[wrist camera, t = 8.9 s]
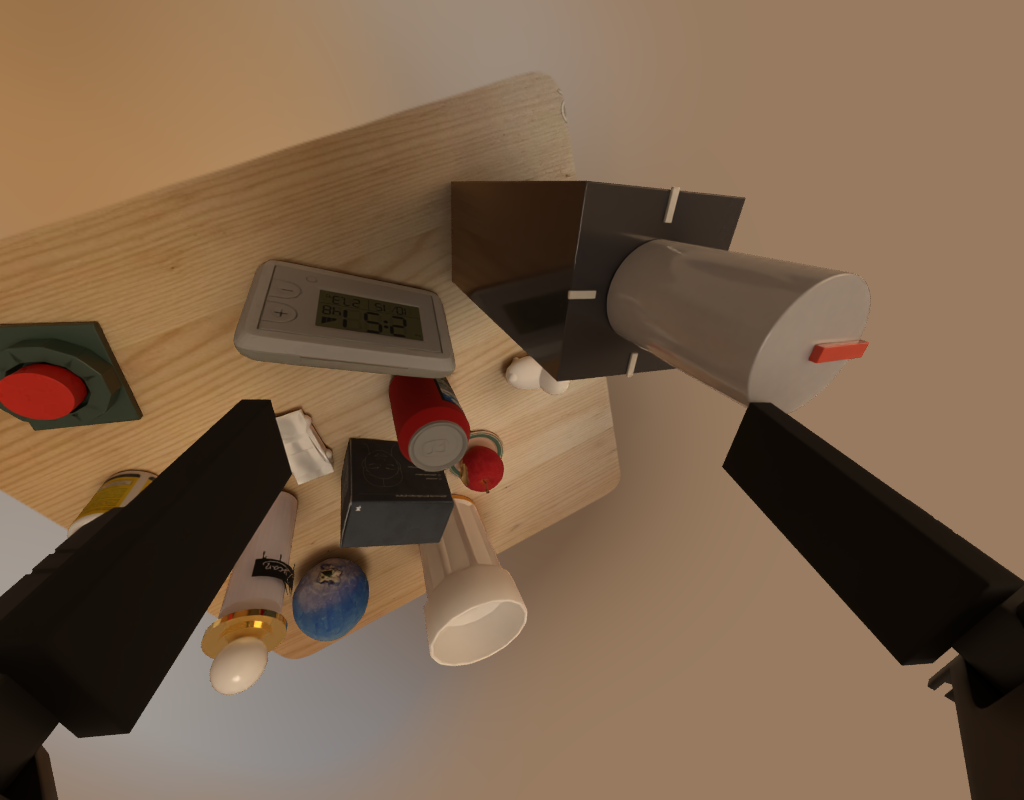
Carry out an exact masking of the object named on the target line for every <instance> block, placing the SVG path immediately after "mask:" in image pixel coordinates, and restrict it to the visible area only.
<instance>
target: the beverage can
mask: <svg viewBox="0 0 1024 800" xmlns="http://www.w3.org/2000/svg"><path fill="white" fill-rule="evenodd" d="M389 397H390V403H391V409H392V414H393V420H394V425H395V430H396V435H397V439H398V444H399V448H400V451H401V452H402V454H403V455H404V457H405V458H406V459H408V460H409V461H410V462H412V463H413V464H414V465H415V466H417V467H418V468H420V469H422V470H425V471H442V470H445V469H448V468H450V467H452V466H454V465H455V464H456V463H458V462H459V461H460V460H461V459H462V457H463V456H464V455H465V453H466V450H467V447H468V442H469V438H470V426H469V423H468V421H467V419H466V416H465V414H464V412H463V410H462V408H461V406H460V404H459V402H458V400H457V398H456V396H455V394H454V392H453V390H452V388H451V386H450V385H449V383H448V381H447V379H446V377H444V378H438V379H437V378H423V377H411V376H401V375H396V376H395V377H394V378H393V380H392V382H391V384H390V388H389Z"/></svg>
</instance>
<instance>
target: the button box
mask: <svg viewBox="0 0 1024 800" xmlns="http://www.w3.org/2000/svg"><path fill="white" fill-rule="evenodd" d="M32 364H50V365H55V366H59V367H62V368H64V369H67V370H69V371H71V372H72V373H74V374H76V375H77V376H78V377H79V378H80V379H81V380H82V381H83V382H84V384H85V386H86V389H87V396H86V398H85V400H84V401H83V402H82V403H81V404H80V405H79V406H77V407H76V408H75V409H74V410H72V411H71V412H70V413H69V414H67V415H66V416H64V417H61V418H57V419H51V420H39V419H32V418H28V417H24V416H21V415H19V414H16V413H14V412H12V411H11V410H9V409H8V408H6V407H5V406H4V405H3V404H2V403H1V402H0V409H2V410H4V411H6V412H8V413H9V414H11V415H13V416H15V417H16V418H18V419H20V420H22V421H26V422H29V423H30V425H31V426H32V428H33V429H34V430H35V431H36V430H46V429H55V428H65V427H74V426H84V425H93V424H103V423H113V422H122V421H132V420H140V419H141V418H142V417H143V415H142V413H141V411H140V409H139V407H138V405H137V403H136V401H135V399H134V397H133V394H132V392H131V390H130V388H129V386H128V384H127V382H126V380H125V378H124V376H123V374H122V372H121V370H120V368H119V365H118V363H117V361H116V359H115V357H114V355H113V353H112V351H111V349H110V347H109V345H108V343H107V341H106V339H105V337H104V334H103V332H102V330H101V328H100V326H99V324H98V322H68V323H37V324H5V325H0V381H1V380H2V379H3V378H5V377H6V376H8V375H10V374H12V373H13V372H15V371H17V370H19V369H20V368H22V367H24V366H27V365H32Z"/></svg>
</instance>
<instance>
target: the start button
mask: <svg viewBox="0 0 1024 800" xmlns="http://www.w3.org/2000/svg"><path fill="white" fill-rule="evenodd" d="M86 396H87V389H86V386H85V384H84V382H83V381H82V380H81V379H80V378H79V377H78V376H77V375H76V374H74V373H72V372H71V371H69V370H67V369H64V368H62V367H59V366H55V365H50V364H32V365H27V366H24V367H22V368H20V369H19V370H17V371H15V372H13V373H12V374H10V375H8V376H6V377H5V378H3V379H2V380H1V381H0V402H1V403H2V404H3V405H4V406H5V407H6V408H8V409H9V410H11V411H12V412H14V413H16V414H19V415H21V416H24V417H28V418H32V419H39V420H51V419H57V418H61V417H64V416H66V415H67V414H69V413H70V412H71V411H72V410H74V409H75V408H76V407H77V406H79V405H80V404H81V403H82V402H83V401H84V400H85V398H86Z"/></svg>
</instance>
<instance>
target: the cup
mask: <svg viewBox="0 0 1024 800" xmlns="http://www.w3.org/2000/svg"><path fill="white" fill-rule="evenodd" d="M451 496H452V499H453V501H454V508H453V509H452V513H451V515H450V517H449V521H448V523H447V525H446V528H445V530H444V533H443V536H442V538H441V540H440V542H439V543H426V544H419V547H420V553H421V560H422V566H423V573H424V579H425V585H426V592H427V598H428V600H427V602H426V604H425V606H424V613H425V621H426V629H427V636H428V643H429V650H430V657H432V658H433V659H434V660H435V661H436V662H438V663H439V664H442V665H448V666H459V665H466V664H471V663H474V662H477V661H479V660H482V659H485V658H487V657H489V656H491V655H493V654H494V653H496V652H498V651H499V650H501V649H503V648H505V647H506V646H507V645H508V644H509V643H510V642H511V641H512V640H513V639H514V638H516V637H517V636H518V634H519V633H520V632H521V630H522V629H523V627H524V625H525V624H526V619H527V612H528V611H527V608H526V606H525V604H524V602H523V600H522V598H521V596H520V593H519V591H518V589H517V587H516V585H515V583H514V581H513V578H512V577H511V575H510V573H509V572H508V571H507V570H505V569H502V567H501V565H500V563H499V560H498V558H497V556H496V554H495V551H494V549H493V547H492V544H491V542H490V540H489V538H488V535H487V533H486V531H485V528H484V526H483V524H482V522H481V519H480V517H479V515H478V511H477V508H476V506H475V504H474V502H473V501H472V500H471V499H469V498H467V497H465V496H460V495H451Z"/></svg>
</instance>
